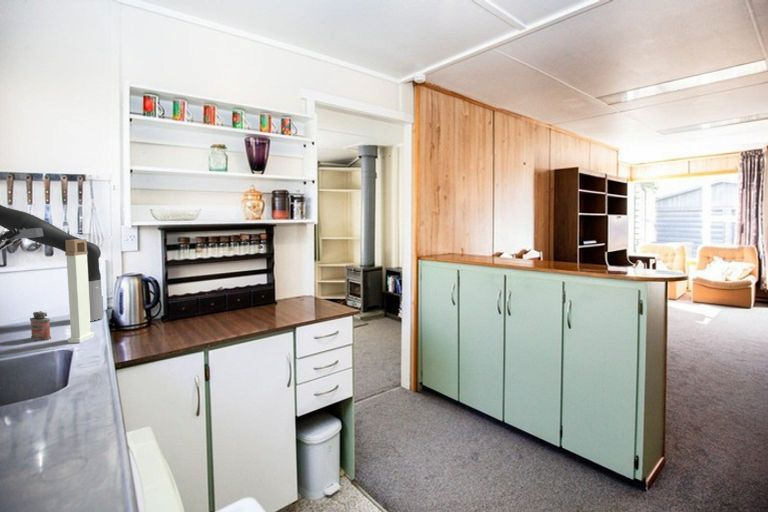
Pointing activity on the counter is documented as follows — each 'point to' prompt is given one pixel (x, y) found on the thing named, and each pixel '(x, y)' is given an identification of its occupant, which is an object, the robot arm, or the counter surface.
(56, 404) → the counter surface
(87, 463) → the counter surface
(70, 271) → the stand
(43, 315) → the lighter
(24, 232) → the steel bar
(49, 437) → the counter surface
